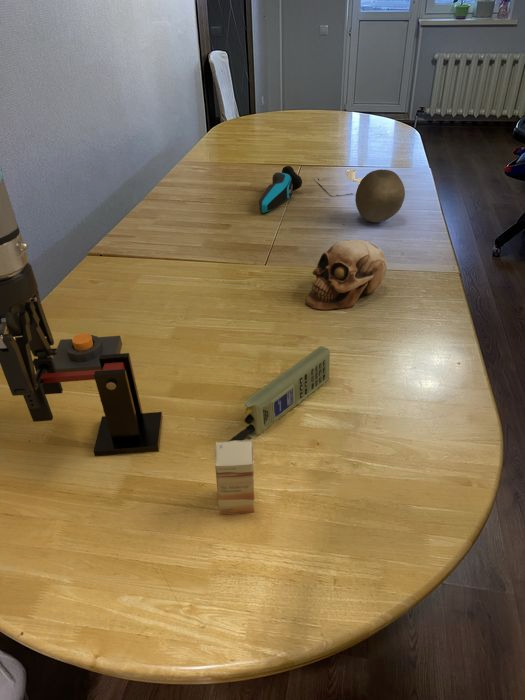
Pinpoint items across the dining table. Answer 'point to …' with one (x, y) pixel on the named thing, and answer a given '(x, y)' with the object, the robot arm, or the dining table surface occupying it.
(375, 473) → the dining table surface
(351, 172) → the teacup and saucer
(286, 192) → the electric shaver
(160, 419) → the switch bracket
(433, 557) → the dining table surface
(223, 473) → the small printed carton
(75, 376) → the switch lever
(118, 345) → the control block
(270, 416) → the handheld radio
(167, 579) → the dining table surface
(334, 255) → the tan skull
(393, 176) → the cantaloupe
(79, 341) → the button
